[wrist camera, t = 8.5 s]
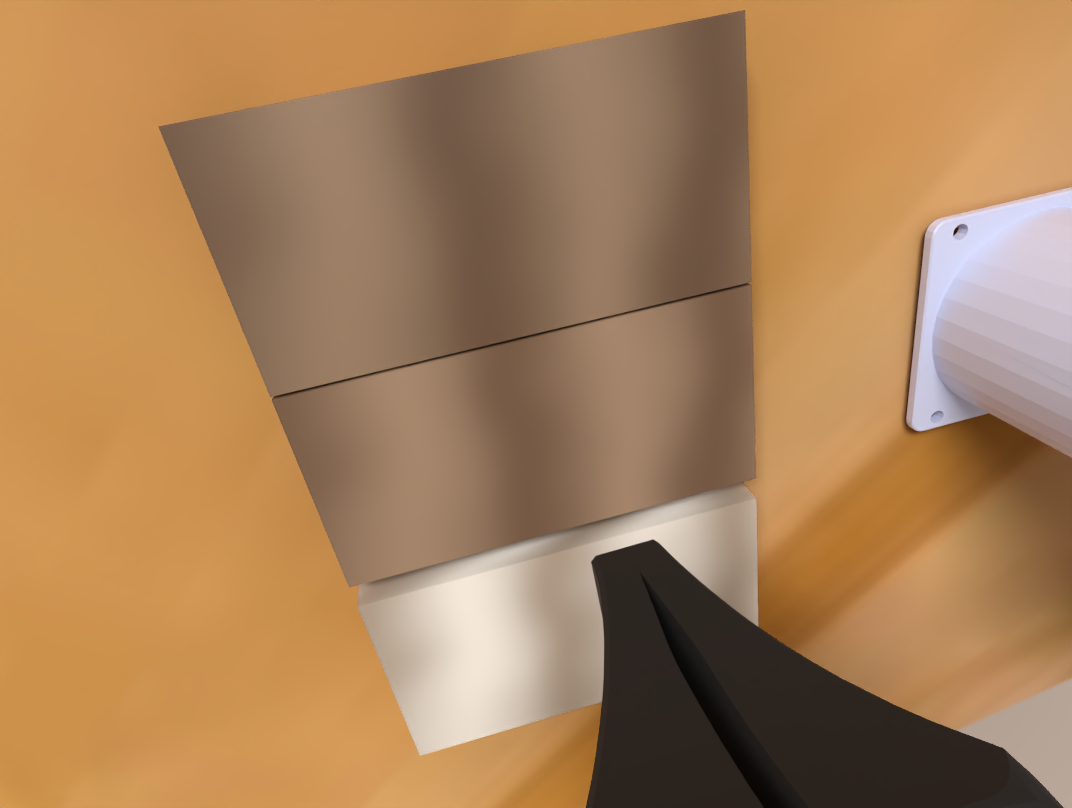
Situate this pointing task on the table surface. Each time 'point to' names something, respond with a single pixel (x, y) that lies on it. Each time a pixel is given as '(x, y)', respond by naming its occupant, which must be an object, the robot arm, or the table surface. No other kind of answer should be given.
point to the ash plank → (537, 616)
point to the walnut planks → (496, 287)
